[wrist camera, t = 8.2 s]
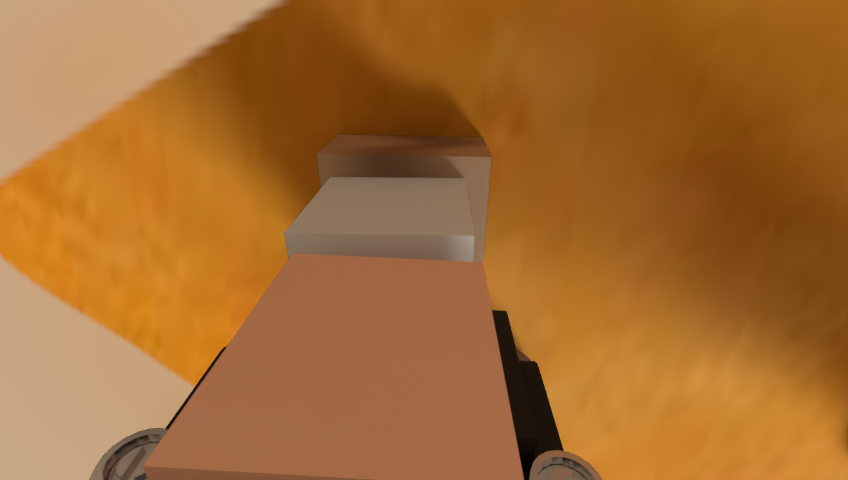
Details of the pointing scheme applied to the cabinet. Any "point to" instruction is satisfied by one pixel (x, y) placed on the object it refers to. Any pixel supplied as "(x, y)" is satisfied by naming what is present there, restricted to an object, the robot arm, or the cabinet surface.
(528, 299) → the cabinet surface
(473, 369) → the terracotta block
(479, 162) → the tan cardboard-coloured box
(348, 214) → the greyblue cube
